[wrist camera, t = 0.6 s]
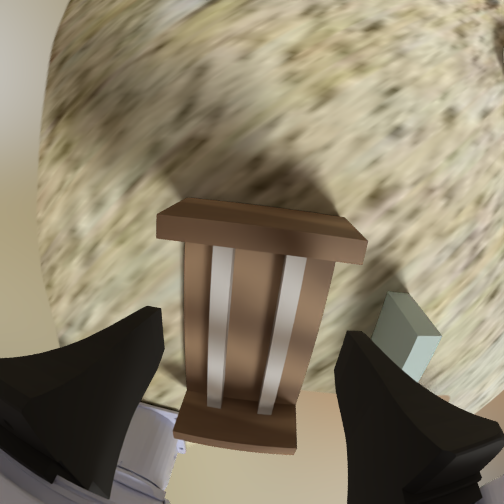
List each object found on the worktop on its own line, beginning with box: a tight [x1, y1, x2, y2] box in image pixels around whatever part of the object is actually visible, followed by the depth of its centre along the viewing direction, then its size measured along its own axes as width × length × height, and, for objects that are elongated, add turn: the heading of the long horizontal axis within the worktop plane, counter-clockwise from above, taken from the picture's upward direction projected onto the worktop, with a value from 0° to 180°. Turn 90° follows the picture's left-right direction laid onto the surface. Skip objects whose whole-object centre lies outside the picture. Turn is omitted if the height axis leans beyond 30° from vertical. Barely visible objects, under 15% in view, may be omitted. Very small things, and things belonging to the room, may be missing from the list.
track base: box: [156, 198, 368, 455], centre depth 19 cm, size 18×10×6 cm, turn 174°
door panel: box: [371, 291, 442, 382], centre depth 18 cm, size 8×2×6 cm, turn 174°
